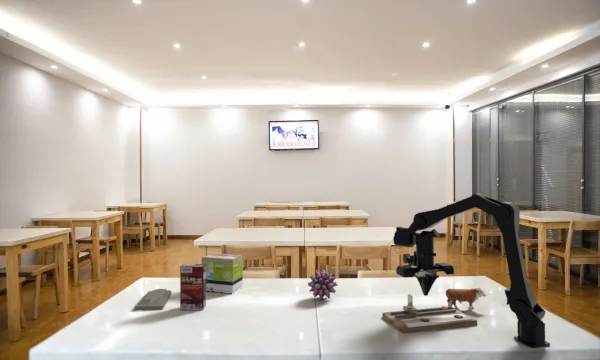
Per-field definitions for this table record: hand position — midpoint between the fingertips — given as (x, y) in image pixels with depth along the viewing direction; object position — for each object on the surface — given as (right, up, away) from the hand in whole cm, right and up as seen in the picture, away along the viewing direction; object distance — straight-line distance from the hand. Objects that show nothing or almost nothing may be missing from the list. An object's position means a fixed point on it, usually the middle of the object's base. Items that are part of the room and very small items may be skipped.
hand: (425, 295), depth 129 cm
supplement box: (-82, -9, +12) cm, 83 cm away
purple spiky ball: (-33, -8, +21) cm, 40 cm away
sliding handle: (-6, -5, -1) cm, 7 cm away
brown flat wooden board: (0, -7, -3) cm, 8 cm away
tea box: (-76, -9, +36) cm, 84 cm away
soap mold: (-99, -9, +20) cm, 102 cm away
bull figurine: (+17, -8, +8) cm, 20 cm away
